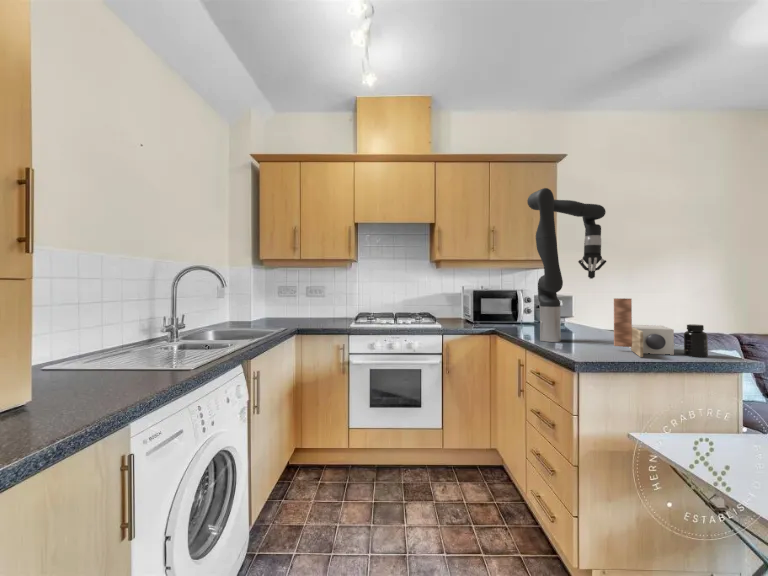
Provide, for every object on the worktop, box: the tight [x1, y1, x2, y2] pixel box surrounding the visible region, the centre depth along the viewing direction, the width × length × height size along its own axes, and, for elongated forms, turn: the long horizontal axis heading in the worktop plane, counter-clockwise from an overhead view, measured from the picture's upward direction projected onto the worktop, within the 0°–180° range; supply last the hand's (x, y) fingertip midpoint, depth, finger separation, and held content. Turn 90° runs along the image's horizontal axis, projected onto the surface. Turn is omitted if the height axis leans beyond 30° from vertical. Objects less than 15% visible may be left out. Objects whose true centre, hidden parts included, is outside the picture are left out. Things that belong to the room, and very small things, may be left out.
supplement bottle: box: [683, 324, 709, 358], centre depth 132 cm, size 7×7×12 cm
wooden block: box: [613, 298, 644, 358], centre depth 137 cm, size 7×14×22 cm, turn 156°
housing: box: [628, 324, 675, 356], centre depth 142 cm, size 12×16×10 cm
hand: (591, 278), depth 176 cm, fingers closed
